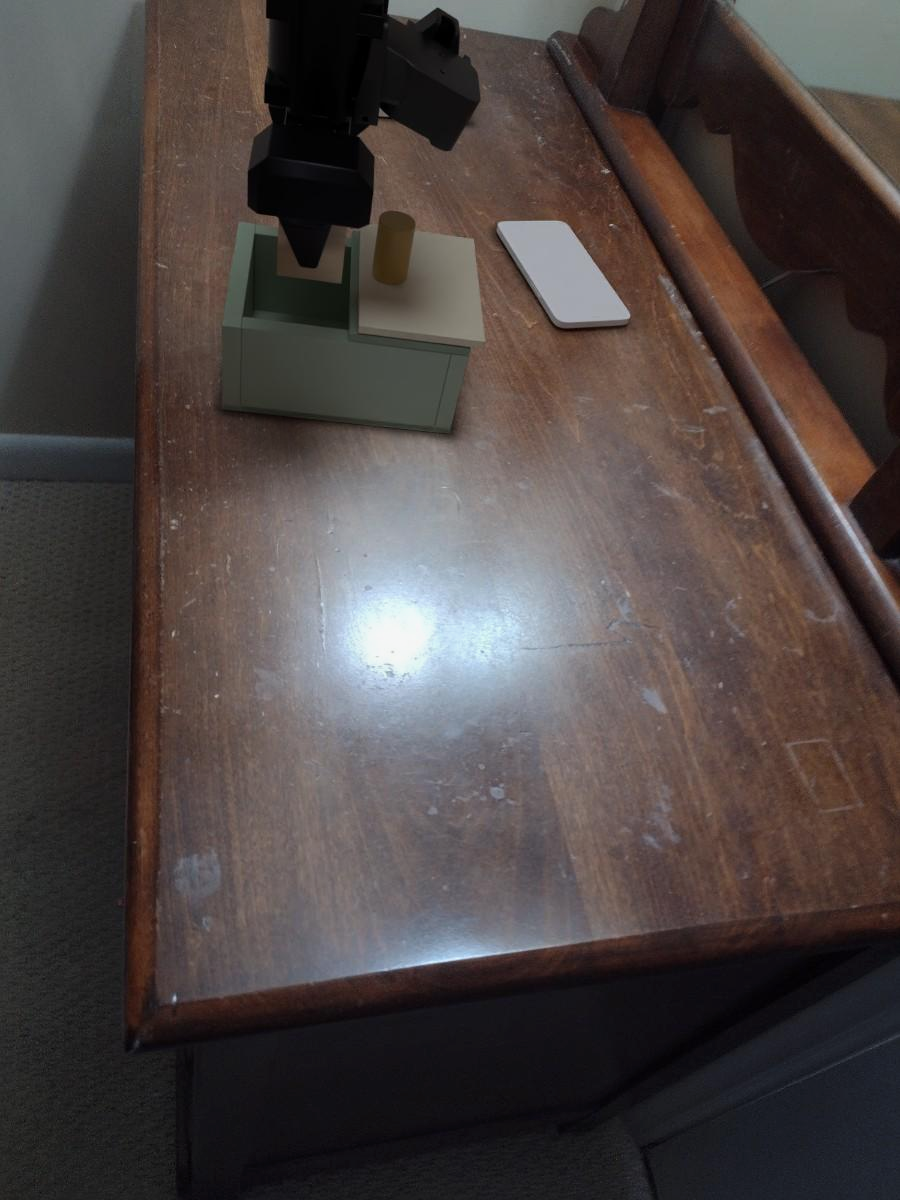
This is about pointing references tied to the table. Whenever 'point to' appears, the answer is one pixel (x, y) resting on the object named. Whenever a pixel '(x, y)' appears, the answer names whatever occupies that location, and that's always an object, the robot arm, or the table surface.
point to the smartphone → (562, 274)
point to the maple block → (328, 263)
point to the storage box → (325, 349)
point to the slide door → (418, 284)
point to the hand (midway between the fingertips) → (310, 246)
